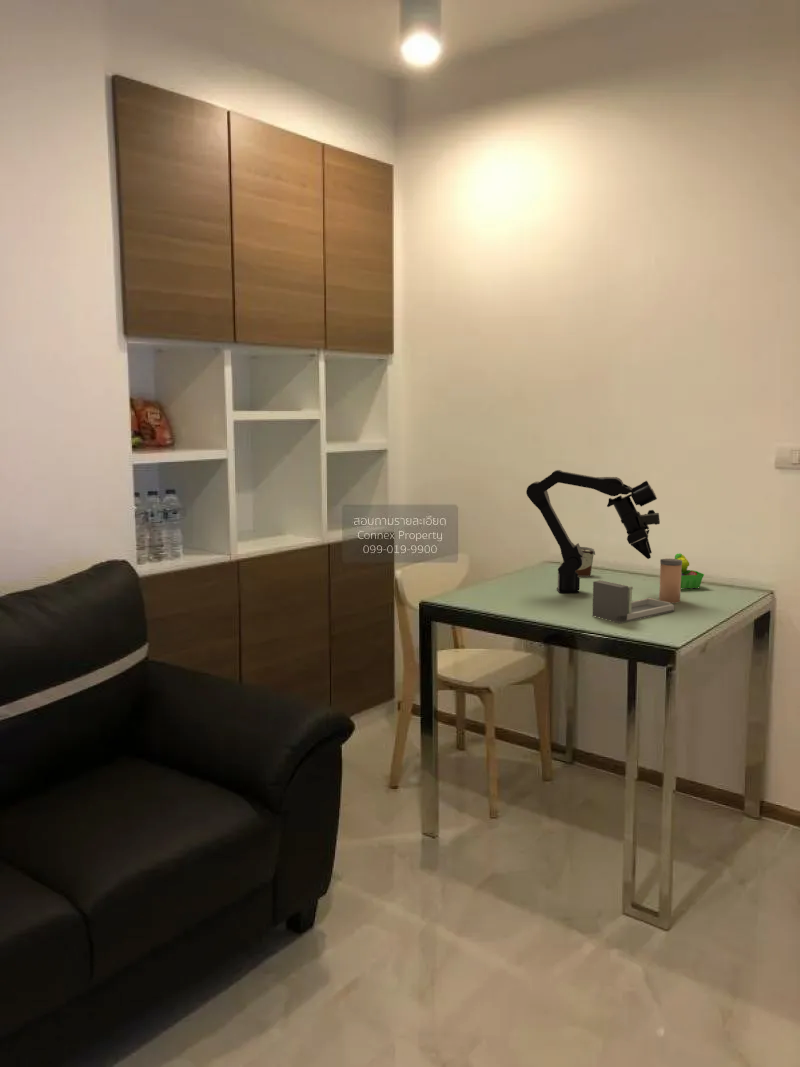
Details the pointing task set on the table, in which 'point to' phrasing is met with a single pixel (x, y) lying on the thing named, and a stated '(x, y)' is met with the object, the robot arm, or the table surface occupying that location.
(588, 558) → the food container
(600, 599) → the lane
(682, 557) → the fruit basket
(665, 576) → the jar
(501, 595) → the table surface
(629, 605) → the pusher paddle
